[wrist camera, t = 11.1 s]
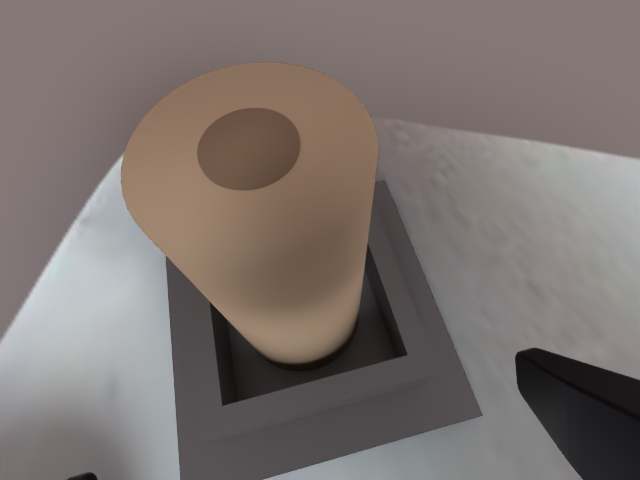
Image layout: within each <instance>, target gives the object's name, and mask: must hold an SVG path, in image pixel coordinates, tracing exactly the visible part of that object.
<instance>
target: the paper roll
mask: <svg viewBox="0 0 640 480" xmlns="http://www.w3.org/2000/svg"><path fill="white" fill-rule="evenodd" d="M377 162H378V139H377V134H376V130H375V126H374V124H373V121H372V119H371V116H370V115H369V113H368V111H367V110H366V108H365V106H364V105H363V104H362V103H361V101H360V100H359V99H358V98H357V97H356V95H354V94H353V93H352V92H351V91H350V90H349V89H348V88H347V87H345V86H344V85H342V84H341V83H339V82H338V81H337V80H335V79H333V78H331V77H329V76H327V75H325V74H323V73H320V72H318V71H315V70H313V69H310V68H306V67H302V66H298V65H293V64H287V63H275V62H255V63H246V64H239V65H234V66H229V67H225V68H222V69H218V70H214V71H212V72H209V73H206V74H204V75H201V76H199V77H197V78H195V79H193V80H190V81H189V82H186V83H185V84H183V85H181V86H180V87H178V88H176V89H175V90H173V91H172V92H171V93H170V94H168V95H167V96H165V97H164V98H163V99H162V100H160V101H159V102H158V103H157V104H156V105H155V106H154V107H153V108H152V109H151V110H150V111H149V112H148V113H147V114H146V115H145V117H144V118H143V119H142V120H141V122H140V123H139V125H138V126H137V128H136V129H135V130H134V133H133V134H132V136H131V138H130V140H129V142H128V145H127V148H126V150H125V153H124V157H123V162H122V167H121V186H122V192H123V197H124V200H125V203H126V206H127V208H128V210H129V212H130V214H131V216H132V217H133V219H134V221H135V222H136V223H137V225H138V226H139V227H140V228H141V229H142V231H143V232H144V233H145V234H146V235H147V236H148V237H149V238H150V239H151V240H152V241H153V242H154V243H155V245H156V246H157V247H158V248H159V249H160V250H161V251H162V252H163V253H164V254H165V255H166V256H167V257H168V258H169V259H170V260H171V261H172V262H173V263H174V264H175V265H176V267H177V268H178V269H179V270H180V271H181V272H182V273H183V274H184V275H185V276H186V277H187V278H188V279H189V280H190V281H191V282H192V283H193V284H194V285H195V286H196V287H197V289H198V290H199V291H200V292H201V293H202V294H203V295H204V296H205V297H206V298H207V299H208V300H209V301H210V302H211V303H212V304H213V305H214V306H215V307H216V308H217V309H218V311H219V312H220V313H221V314H222V315H223V316H224V317H225V318H226V319H227V320H228V321H229V322H230V323H231V324H232V325H233V326H234V327H235V328H236V329H237V330H238V332H239V333H240V334H241V335H242V336H243V337H244V338H245V339H246V340H247V341H248V342H249V343H250V344H251V345H252V346H253V347H254V348H255V349H256V350H257V351H258V352H259V354H260V355H261V356H263V357H264V358H265V359H266V360H267V361H269V362H270V363H272V364H273V365H276V366H278V367H280V368H283V369H286V370H291V371H310V370H314V369H318V368H321V367H323V366H325V365H327V364H329V363H331V362H332V361H334V360H335V359H336V358H338V357H339V356H340V355H341V354H342V353H343V352H344V351H345V350H346V348H347V347H348V346H349V344H350V342H351V341H352V339H353V337H354V334H355V332H356V328H357V324H358V316H359V308H360V300H361V291H362V283H363V275H364V267H365V259H366V251H367V243H368V235H369V226H370V218H371V210H372V202H373V194H374V186H375V178H376V170H377Z"/></svg>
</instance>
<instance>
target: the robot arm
mask: <svg viewBox="0 0 640 480" xmlns="http://www.w3.org/2000/svg"><path fill="white" fill-rule="evenodd" d="M515 362H516V375H517V385H518V389H519V391H520V393H521V395H522V397H523V398H524V399H525V401H526V402H527V404H528V405H529V407H530V408H531V409H532V411H533V412H534V414H535V415H536V417H537V418H538V420H539V421H540V422H541V424H542V425H543V427H544V428H545V430H546V431H547V432H548V434H549V435H550V437H551V438H552V440H553V441H554V442H555V444H556V445H557V447H558V448H559V450H560V451H561V452H562V454H563V455H564V456H565V458H566V459H567V461H568V462H569V463H570V464H571V466H572V467H573V468H574V469H575V471H576V472H577V473H578V474H579V475H580V477H581V478H582V479H583V480H640V380H638V379H635V378H631V377H628V376H625V375H622V374H619V373H615V372H612V371H609V370H606V369H603V368H599V367H596V366H593V365H590V364H587V363H583V362H580V361H577V360H574V359H571V358H567V357H564V356H561V355H558V354H555V353H551V352H548V351H545V350H542V349H539V348H530V349H527V350H523V351H519V352H518V353H517V354H516V356H515ZM67 480H98V479H97V477H96V475H95V474H94V473H92V472H87V473H83V474H80V475H76V476H73V477H70V478H69V479H67Z"/></svg>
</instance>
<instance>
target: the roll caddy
mask: <svg viewBox="0 0 640 480" xmlns="http://www.w3.org/2000/svg"><path fill="white" fill-rule="evenodd" d="M166 268H167V283H168V298H169V313H170V328H171V343H172V359H173V374H174V389H175V404H176V419H177V434H178V449H179V465H180V480H263V479H266V478H270V477H273V476H276V475H280V474H283V473H287V472H290V471H294V470H297V469H301V468H304V467H307V466H311V465H314V464H318V463H321V462H325V461H328V460H332V459H335V458H338V457H342V456H345V455H349V454H352V453H356V452H359V451H362V450H366V449H369V448H373V447H376V446H380V445H383V444H387V443H390V442H393V441H397V440H400V439H404V438H407V437H411V436H414V435H417V434H421V433H424V432H428V431H431V430H435V429H438V428H442V427H445V426H448V425H452V424H455V423H459V422H462V421H466V420H469V419H472V418H476V417H479V416H483V415H482V413H481V410H480V408H479V405H478V403H477V401H476V398H475V396H474V393H473V391H472V389H471V386H470V384H469V381H468V379H467V377H466V374H465V372H464V369H463V367H462V365H461V362H460V360H459V357H458V355H457V353H456V350H455V348H454V345H453V343H452V341H451V338H450V336H449V333H448V331H447V329H446V326H445V324H444V321H443V319H442V317H441V314H440V312H439V309H438V307H437V305H436V302H435V300H434V297H433V295H432V293H431V290H430V288H429V285H428V283H427V281H426V278H425V276H424V273H423V271H422V269H421V266H420V264H419V261H418V259H417V257H416V254H415V252H414V249H413V247H412V245H411V242H410V240H409V237H408V235H407V233H406V230H405V228H404V225H403V223H402V221H401V218H400V216H399V213H398V211H397V209H396V206H395V204H394V201H393V199H392V197H391V194H390V192H389V189H388V187H387V185H386V182H385V180H384V181H380V182H376V183H375V186H374V194H373V202H372V210H371V218H370V226H369V235H368V243H367V251H366V259H365V267H364V275H363V283H362V291H361V300H360V308H359V316H358V324H357V328H356V332H355V334H354V337H353V339H352V341H351V342H350V344H349V346H348V347H347V348H346V350H345V351H344V352H343V353H342V354H341V355H340V356H339V357H338V358H336V359H335V360H334V361H332V362H331V363H329V364H327V365H325V366H323V367H321V368H318V369H314V370H310V371H291V370H286V369H283V368H280V367H278V366H276V365H273V364H272V363H270V362H269V361H267V360H266V359H265V358H264V357H263V356H261V355H260V354H259V352H258V351H257V350H256V349H255V348H254V347H253V346H252V345H251V344H250V343H249V342H248V341H247V340H246V339H245V338H244V337H243V336H242V335H241V334H240V333H239V332H238V330H237V329H236V328H235V327H234V326H233V325H232V324H231V323H230V322H229V321H228V320H227V319H226V318H225V317H224V316H223V315H222V314H221V313H220V312H219V311H218V309H217V308H216V307H215V306H214V305H213V304H212V303H211V302H210V301H209V300H208V299H207V298H206V297H205V296H204V295H203V294H202V293H201V292H200V291H199V290H198V289H197V287H196V286H195V285H194V284H193V283H192V282H191V281H190V280H189V279H188V278H187V277H186V276H185V275H184V274H183V273H182V272H181V271H180V270H179V269H178V268H177V267H176V265H175V264H174V263H173V262H172V261H171V260H170V259H169V258H168V257H167V256H166Z"/></svg>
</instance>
